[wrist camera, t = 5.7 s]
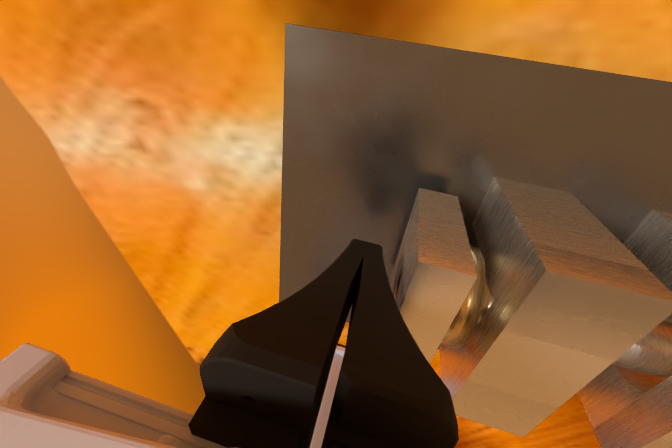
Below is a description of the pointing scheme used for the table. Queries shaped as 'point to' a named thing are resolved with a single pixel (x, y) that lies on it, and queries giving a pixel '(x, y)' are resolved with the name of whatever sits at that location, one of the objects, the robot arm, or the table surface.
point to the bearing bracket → (497, 211)
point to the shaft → (470, 286)
